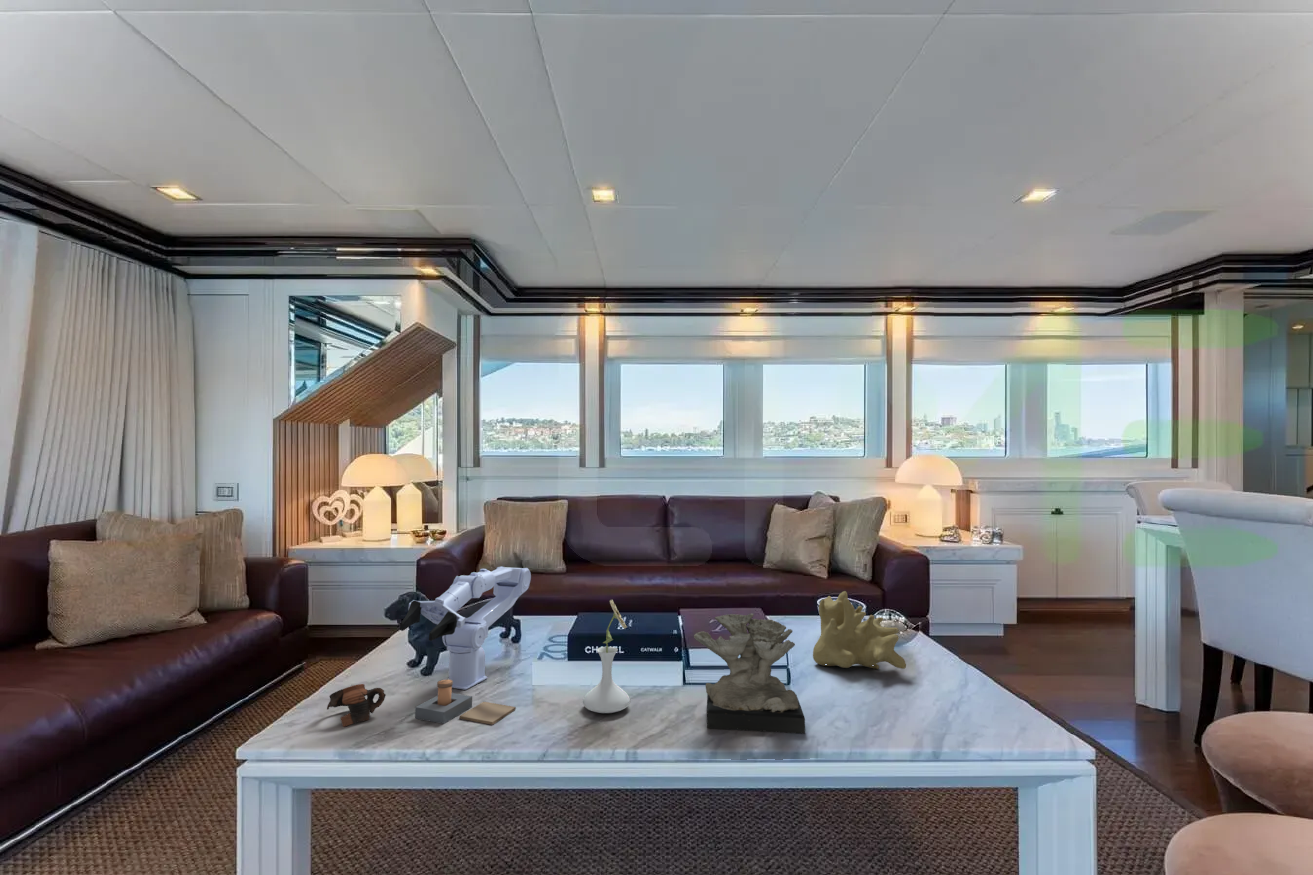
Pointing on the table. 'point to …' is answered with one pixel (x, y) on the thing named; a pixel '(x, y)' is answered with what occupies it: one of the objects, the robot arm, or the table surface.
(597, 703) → the flower in vase
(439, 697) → the plug
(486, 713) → the coaster
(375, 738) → the table surface
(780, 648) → the coral
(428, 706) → the socket
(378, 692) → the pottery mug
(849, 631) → the decorative coral
